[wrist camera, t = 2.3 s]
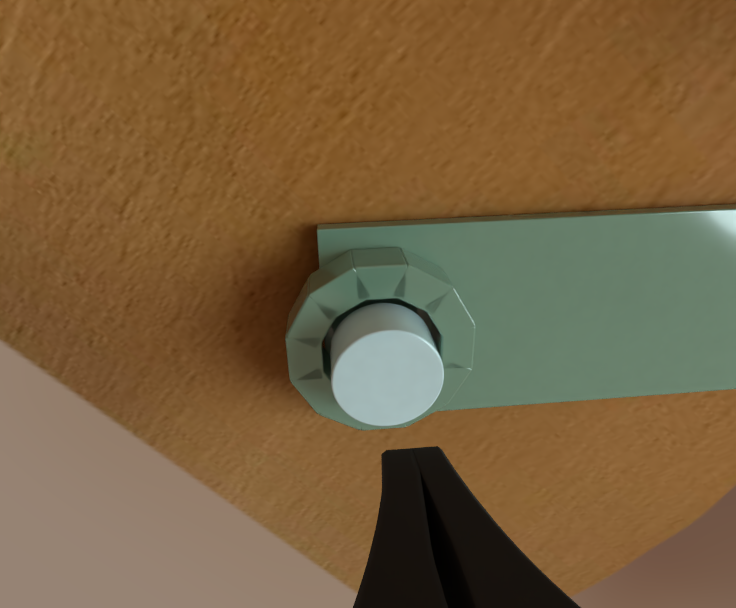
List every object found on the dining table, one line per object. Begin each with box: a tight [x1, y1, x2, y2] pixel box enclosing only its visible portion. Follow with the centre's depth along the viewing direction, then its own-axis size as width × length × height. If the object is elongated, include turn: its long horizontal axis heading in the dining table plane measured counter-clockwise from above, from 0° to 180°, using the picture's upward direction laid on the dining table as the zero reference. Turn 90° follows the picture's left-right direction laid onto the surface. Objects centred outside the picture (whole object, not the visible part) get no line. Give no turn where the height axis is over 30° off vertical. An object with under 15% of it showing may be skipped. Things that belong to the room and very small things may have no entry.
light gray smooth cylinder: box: [330, 303, 444, 426], centre depth 17 cm, size 4×4×2 cm
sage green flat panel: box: [285, 204, 736, 430], centre depth 19 cm, size 19×8×2 cm, turn 91°
